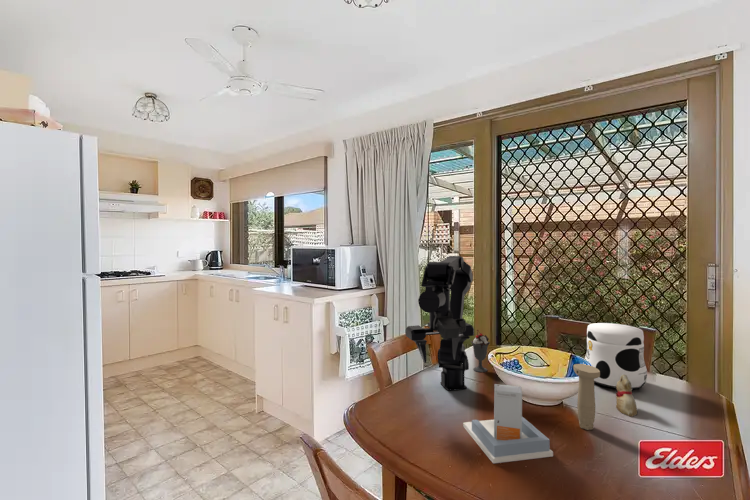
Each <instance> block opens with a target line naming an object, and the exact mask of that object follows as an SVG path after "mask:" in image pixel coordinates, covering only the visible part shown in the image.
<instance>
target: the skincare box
mask: <svg viewBox="0 0 750 500" xmlns="http://www.w3.org/2000/svg"><path fill="white" fill-rule="evenodd" d="M493 385H494V386H493V388H494V391H493V392H494V398H493V400H494V401H493V402H494V403H493V406H494V408H493V420H494V438H495V439H496V440H497V441H505V440H514V439H522V417H523V391H522V387H521V386H520V385H519V386H518V385H512V384H511V385H510V384H509V385H508V384H497V383H494V384H493Z"/></svg>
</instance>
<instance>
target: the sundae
mask: <svg viewBox="0 0 750 500" xmlns="http://www.w3.org/2000/svg"><path fill="white" fill-rule="evenodd" d="M476 331H477V333H476V335H475V338H474V339H473V340H470V343H471V344H472V348H473V355H474V357H475V359H477V361H478V366H476V367H473V368H472V370H473V371H474V372H477V373H486V372H487V371H489V370H488V369H487V368H486V367H484V366H483V361H484V360H485V359H486V358H487V355H488V347H489V345H490V344H491V342H490V341H489V337H488V336H487V335H486V334H485V335H484V334H483V333H481V332H480V331H479V329H477V330H476ZM478 333H479V334H478Z"/></svg>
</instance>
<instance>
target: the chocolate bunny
mask: <svg viewBox="0 0 750 500" xmlns="http://www.w3.org/2000/svg"><path fill="white" fill-rule="evenodd" d="M631 386H632V385H631V382H630V381H629V379H628V378H627V375H621V377H620V380H619V381H618V382H617V385H616V388H615V389H616V391H617V392H615V399H616V405H615V408H616V410H617V411H618V412H619V413H620V414H623V415H625V416H628V417H634V416H637V415H638V407H637V403H636V399H635V398H634V396H633V391H632V390H633V389H632V387H631Z"/></svg>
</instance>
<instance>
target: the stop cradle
mask: <svg viewBox="0 0 750 500" xmlns="http://www.w3.org/2000/svg"><path fill="white" fill-rule="evenodd" d="M462 425H463V426H462V427H463V428H464V429H465V430H466V432H467V433H468V434H469V436H470V437H471V439H473V440H474V442H475V443H476V444H477V445H478V447H479V448H480V449H481V451H482V452H483V453H484V455H485V456H486V457H487V458H488V460H490V461H491V463H492V464H500V463H509V462H518V461H525V460H533V459H542V458H549V457H550V458H551V457H554V451H553V450H552V449H550V448H551V447H550V444H551V443H550V440H551V439H549V437H547V436H546V435H545V434H544V433H542V432H541V431H540V430H539V429H538V428H536V426H534V425H533V424H532V423H531V422H530V421H528V420H527V419H526V418H525V417H523V416H522V439H514V440H505V441H497V440H496V439H495V438H494V419H486V420H479V419H471V421H466V422H463V423H462Z"/></svg>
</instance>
